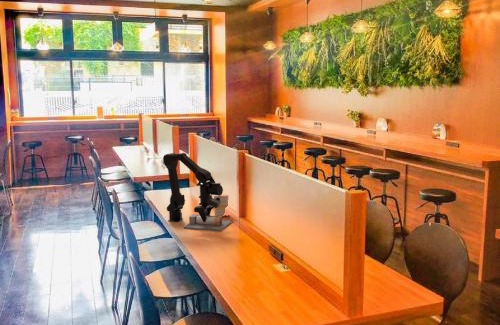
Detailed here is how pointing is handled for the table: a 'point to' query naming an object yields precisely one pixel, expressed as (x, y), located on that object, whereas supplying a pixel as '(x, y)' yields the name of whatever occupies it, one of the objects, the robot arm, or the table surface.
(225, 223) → the tong mat
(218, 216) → the tong leg
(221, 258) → the table surface
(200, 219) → the tong leg
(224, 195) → the supplement box
